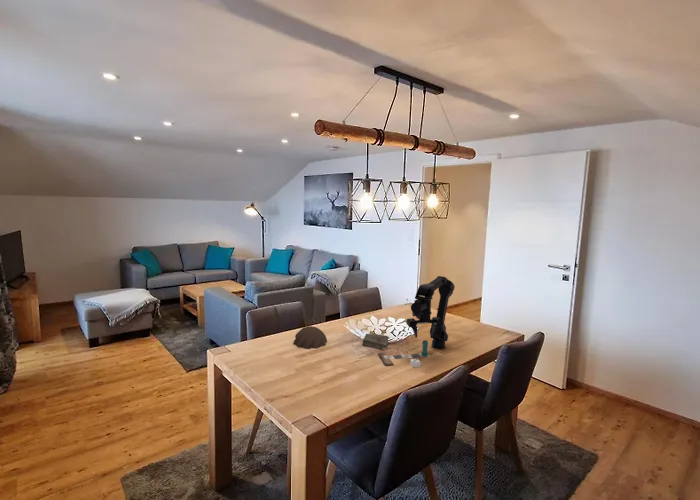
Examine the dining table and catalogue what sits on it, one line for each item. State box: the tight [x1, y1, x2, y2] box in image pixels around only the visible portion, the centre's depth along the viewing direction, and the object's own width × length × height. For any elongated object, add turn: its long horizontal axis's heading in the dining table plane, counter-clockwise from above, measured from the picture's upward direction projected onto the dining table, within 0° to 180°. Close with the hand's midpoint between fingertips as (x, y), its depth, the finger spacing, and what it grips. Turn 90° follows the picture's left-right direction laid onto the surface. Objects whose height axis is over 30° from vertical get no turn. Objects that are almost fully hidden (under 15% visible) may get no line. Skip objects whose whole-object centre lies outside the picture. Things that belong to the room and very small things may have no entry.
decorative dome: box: [293, 325, 328, 350], centre depth 220 cm, size 19×20×10 cm
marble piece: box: [361, 333, 390, 351], centre depth 220 cm, size 17×15×4 cm
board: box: [377, 351, 431, 367], centre depth 201 cm, size 28×14×1 cm, turn 101°
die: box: [409, 358, 421, 368], centre depth 190 cm, size 4×4×4 cm
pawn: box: [420, 339, 429, 358], centre depth 202 cm, size 4×4×8 cm
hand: (424, 337), depth 199 cm, fingers open, 9 cm apart
